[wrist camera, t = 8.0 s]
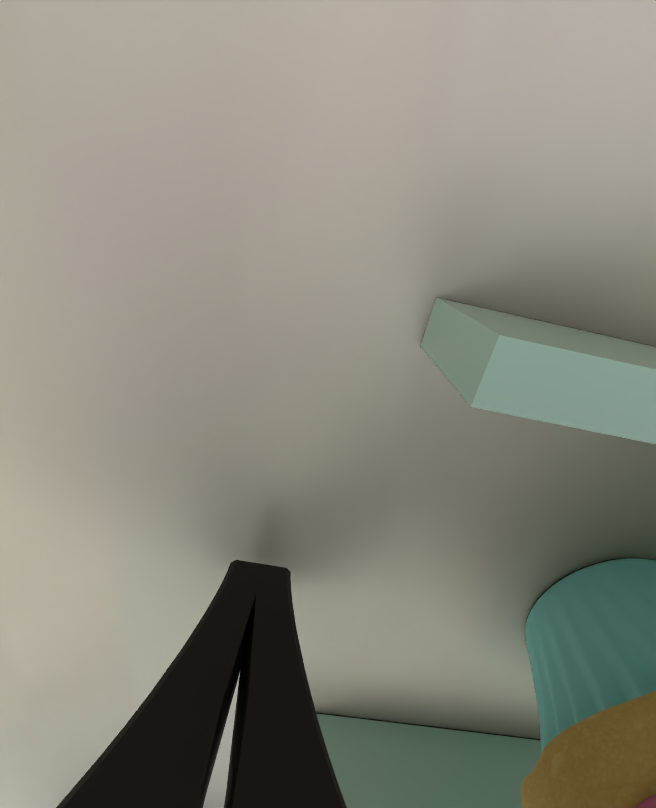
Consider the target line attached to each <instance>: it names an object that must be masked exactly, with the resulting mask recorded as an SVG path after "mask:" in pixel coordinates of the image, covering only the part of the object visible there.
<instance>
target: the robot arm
mask: <svg viewBox="0 0 656 808" xmlns="http://www.w3.org/2000/svg"><path fill="white" fill-rule="evenodd" d="M239 673H240V678H239V686H238V695H237V703H236V712H235V720H234V729H233V738H232V746H231V755H230V764H229V772H228V781H227V790H226V797H225V804H224V808H347V807H346V804H345V801H344V798H343V796H342V793H341V790H340V787H339V784H338V782H337V779H336V776H335V772H334V769H333V766H332V763H331V760H330V757H329V754H328V751H327V748H326V745H325V742H324V738H323V735H322V732H321V728H320V725H319V722H318V718H317V714H316V711H315V707H314V703H313V700H312V696H311V692H310V689H309V685H308V680H307V676H306V672H305V668H304V663H303V659H302V654H301V649H300V645H299V640H298V635H297V630H296V624H295V617H294V611H293V604H292V595H291V581H290V571H289V570H288V569H287V568H284V567H277V566H271V565H265V564H259V563H252V562H246V561H240V560H235V561H233V562H231V564H230V566H229V569H228V571H227V573H226V576H225V578H224V580H223V582H222V584H221V586H220V588H219V589H218V591H217V593H216V595H215V597H214V598H213V600H212V602H211V604H210V605H209V607H208V609H207V610H206V612H205V614H204V615H203V617H202V619H201V620H200V622H199V623H198V625H197V626H196V628H195V629H194V631H193V633H192V634H191V636H190V637H189V639H188V640H187V642H186V643H185V645H184V646H183V648H182V649H181V651H180V652H179V654H178V655H177V657H176V658H175V659H174V661H173V662H172V663H171V665H170V666H169V668H168V669H167V670H166V672H165V673H164V675H163V676H162V677H161V679H160V680H159V682H158V683H157V684H156V686H155V687H154V689H153V690H152V691H151V693H150V694H149V695H148V697H147V698H146V699H145V701H144V702H143V703H142V704H141V706H140V707H139V708H138V710H137V711H136V712H135V714H134V715H133V716H132V717H131V719H130V720H129V721H128V723H127V724H126V725H125V726H124V728H123V729H122V730H121V731H120V733H119V734H118V735H117V736H116V737H115V739H114V740H113V741H112V742H111V744H110V745H109V746H108V747H107V749H106V750H105V751H104V752H103V753H102V755H101V756H100V757H99V758H98V759H97V761H96V762H95V763H94V764H93V765H92V766H91V768H90V769H89V770H88V771H87V772H86V774H85V775H84V776H83V777H82V778H81V779H80V781H79V782H78V783H77V784H76V785H75V786H74V788H73V789H72V790H71V791H70V792H69V794H68V795H67V796H66V797H65V798H64V799H63V801H62V802H61V803H60V804H59V805H58V806H57V807H56V808H203V804H204V800H205V796H206V792H207V788H208V785H209V781H210V777H211V774H212V770H213V767H214V763H215V759H216V756H217V752H218V749H219V745H220V741H221V738H222V734H223V730H224V727H225V723H226V720H227V716H228V712H229V709H230V705H231V702H232V698H233V694H234V691H235V687H236V684H237V680H238V676H239Z"/></svg>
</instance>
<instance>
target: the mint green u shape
mask: <svg viewBox="0 0 656 808" xmlns="http://www.w3.org/2000/svg"><path fill="white" fill-rule="evenodd" d="M420 347H421V348H422V349H423V350H424V351H425V353H426V354H427V355H428V356H429V357H430V359H431V360H432V361H433V362H434V364H435V365H436V366H437V367H438V368H439V370H440V371H441V372H442V373H443V374H444V376H445V377H446V378H447V379H448V381H449V382H450V383H451V384H452V385H453V387H454V388H455V389H456V390H457V391H458V393H459V394H460V395H461V396H462V397H463V399H464V400H465V401H466V402H467V404H468V405H469V406H470V407H472V408H477V409H482V410H487V411H492V412H497V413H502V414H507V415H512V416H517V417H522V418H527V419H532V420H537V421H542V422H547V423H552V424H557V425H562V426H567V427H572V428H577V429H582V430H587V431H592V432H597V433H602V434H607V435H612V436H617V437H622V438H627V439H632V440H637V441H642V442H647V443H652V444H656V347H653V346H649V345H645V344H640V343H636V342H631V341H627V340H622V339H618V338H614V337H609V336H605V335H600V334H596V333H591V332H587V331H583V330H578V329H574V328H569V327H565V326H560V325H556V324H552V323H547V322H543V321H538V320H534V319H529V318H525V317H521V316H516V315H512V314H507V313H503V312H498V311H494V310H490V309H485V308H481V307H476V306H472V305H467V304H463V303H458V302H454V301H450V300H445V299H441V298H436V299H435V302H434V305H433V308H432V312H431V315H430V318H429V321H428V324H427V327H426V330H425V333H424V337H423V340H422V343H421V346H420ZM317 718H318V722H319V725H320V728H321V732H322V735H323V738H324V742H325V745H326V748H327V751H328V754H329V757H330V760H331V763H332V766H333V769H334V772H335V776H336V779H337V782H338V784H339V787H340V790H341V793H342V796H343V798H344V801H345V804H346V807H347V808H523V807H522V800H521V785H522V782H523V780H524V778H525V777H526V776H527V775H529V774H530V773H531V772H532V771H533V769H534V768H535V766H536V764H537V762H538V759H539V757H540V755H541V740H533V739H524V738H516V737H508V736H499V735H491V734H483V733H474V732H466V731H458V730H449V729H441V728H433V727H424V726H416V725H408V724H399V723H391V722H382V721H374V720H366V719H357V718H349V717H341V716H332V715H324V714H317Z"/></svg>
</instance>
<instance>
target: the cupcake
mask: <svg viewBox="0 0 656 808" xmlns="http://www.w3.org/2000/svg"><path fill="white" fill-rule="evenodd" d="M525 638H526V644H527V649H528V654H529V659H530V664H531V669H532V675H533V680H534V686H535V692H536V699H537V705H538V713H539V723H540V737H541V755H540V757H539V759H538V762H537V764H536V766H535V768H534V769H533V771H532V772H531V773H530V774H529V775H527V776H526V777H525V778H524V780H523V782H522V785H521V800H522V807H523V808H656V561H655V560H649V559H636V558H632V559H618V560H611V561H606V562H602V563H598V564H595V565H591V566H589V567H586V568H583V569H581V570H579V571H576V572H574V573H572V574H570V575H568V576H567V577H565V578H563V579H562V580H560V581H559V582H557V583H556V584H554V585H553V586H552V587H551V588H549V589H548V590H547V591H546V592H545V593H544V594H543V595H542V596H541V597H540V598H539V599H538V601H537V602H536V603H535V605H534V606H533V608H532V610H531V612H530V614H529V616H528V618H527V622H526V627H525Z"/></svg>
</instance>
